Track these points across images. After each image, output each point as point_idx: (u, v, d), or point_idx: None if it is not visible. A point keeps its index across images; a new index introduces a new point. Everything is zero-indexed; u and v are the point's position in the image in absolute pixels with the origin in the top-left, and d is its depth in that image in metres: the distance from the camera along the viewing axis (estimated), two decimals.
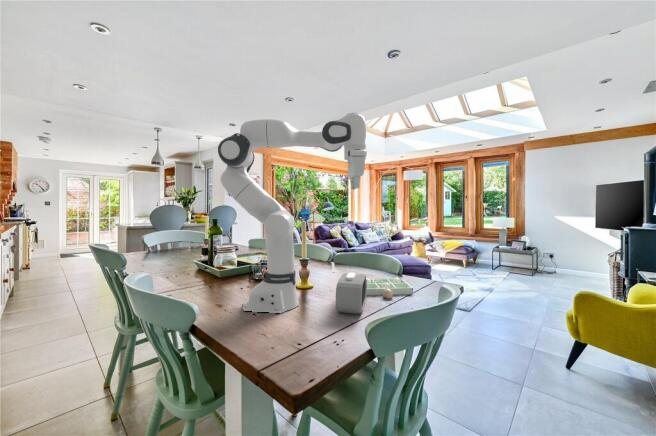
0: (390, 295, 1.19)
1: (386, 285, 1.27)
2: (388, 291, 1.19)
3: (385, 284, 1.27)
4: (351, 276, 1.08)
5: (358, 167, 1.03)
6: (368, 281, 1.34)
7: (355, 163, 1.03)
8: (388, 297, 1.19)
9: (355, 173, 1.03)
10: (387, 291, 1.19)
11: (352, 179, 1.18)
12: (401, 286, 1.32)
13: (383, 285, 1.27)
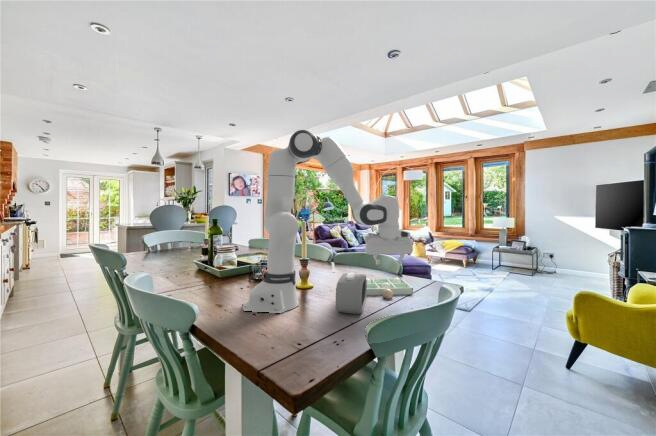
0: (390, 295, 1.19)
1: (386, 285, 1.27)
2: (388, 291, 1.19)
3: (385, 284, 1.27)
4: (351, 276, 1.08)
5: None
6: (368, 281, 1.34)
7: None
8: (388, 297, 1.19)
9: (411, 252, 1.19)
10: (387, 291, 1.19)
11: None
12: (401, 286, 1.32)
13: (383, 285, 1.27)
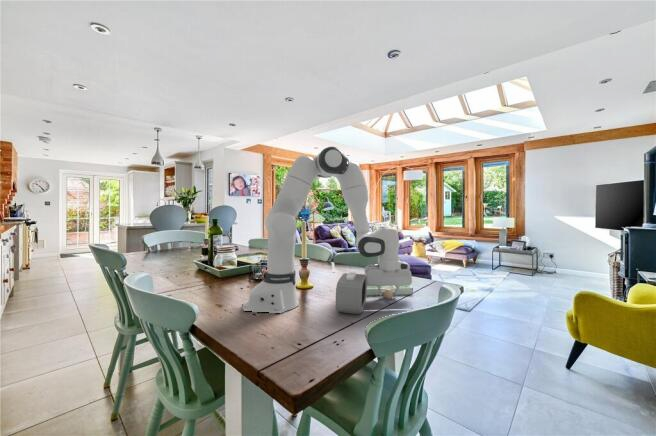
0: (390, 295, 1.19)
1: None
2: (388, 291, 1.19)
3: None
4: (351, 276, 1.08)
5: None
6: None
7: None
8: (388, 297, 1.19)
9: None
10: (387, 291, 1.19)
11: None
12: (401, 286, 1.32)
13: None
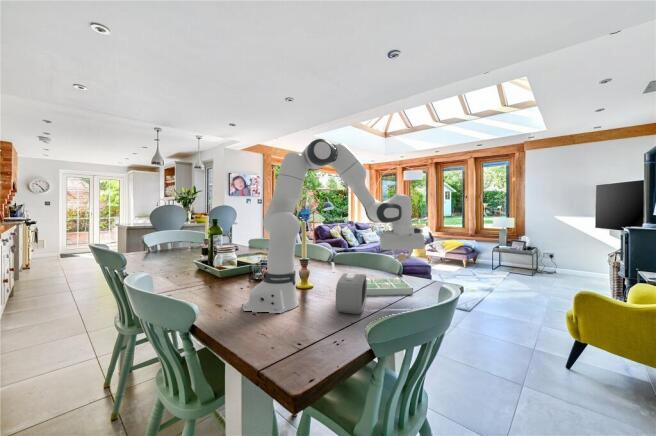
0: (404, 258, 1.26)
1: (386, 285, 1.27)
2: (402, 255, 1.26)
3: (385, 284, 1.27)
4: (351, 276, 1.08)
5: None
6: (368, 281, 1.34)
7: None
8: (402, 260, 1.26)
9: (423, 247, 1.27)
10: (401, 254, 1.26)
11: None
12: (401, 286, 1.32)
13: (383, 285, 1.27)
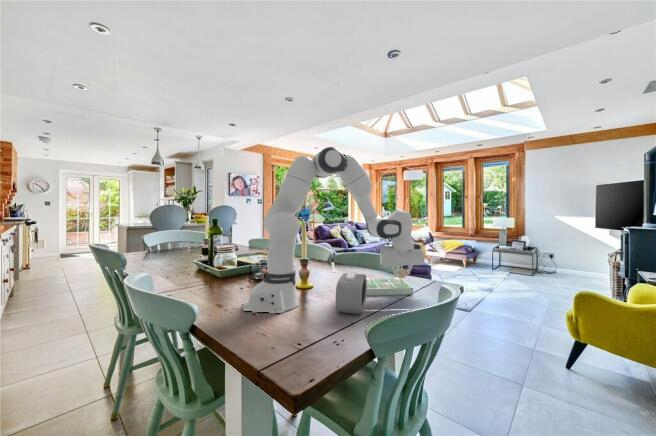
0: (404, 274, 1.26)
1: (386, 285, 1.27)
2: (402, 270, 1.27)
3: (385, 284, 1.27)
4: (351, 276, 1.08)
5: None
6: (368, 281, 1.34)
7: None
8: (402, 276, 1.27)
9: None
10: (401, 270, 1.27)
11: None
12: (401, 286, 1.32)
13: (383, 285, 1.27)
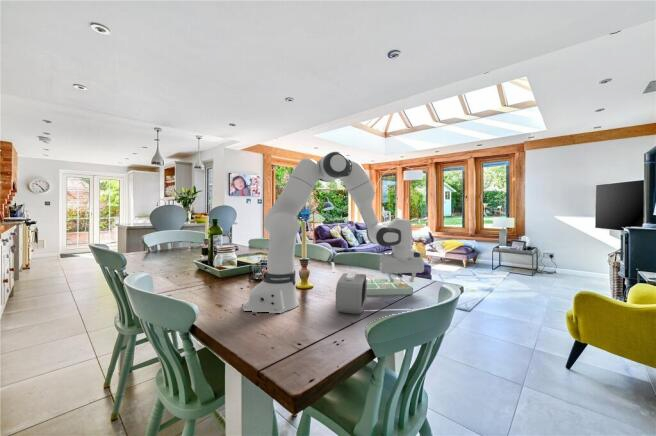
0: None
1: (386, 285, 1.27)
2: (403, 284, 1.27)
3: (385, 284, 1.27)
4: (351, 276, 1.08)
5: None
6: (368, 281, 1.34)
7: None
8: None
9: None
10: (402, 283, 1.27)
11: None
12: None
13: (383, 285, 1.27)
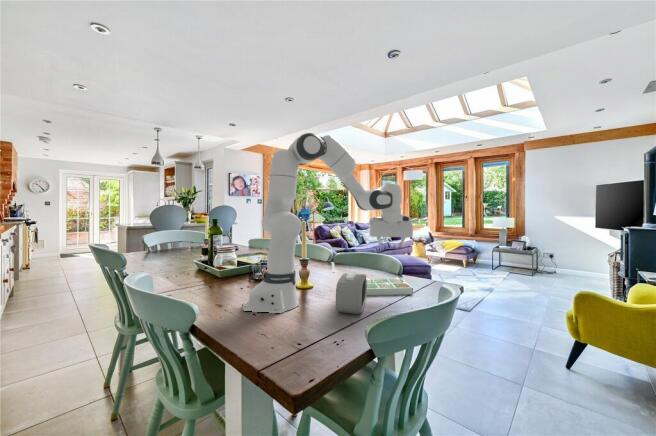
0: None
1: (386, 285, 1.27)
2: (405, 284, 1.27)
3: (385, 284, 1.27)
4: (351, 276, 1.08)
5: None
6: (368, 281, 1.34)
7: None
8: None
9: (411, 235, 1.30)
10: (405, 283, 1.28)
11: None
12: None
13: (383, 285, 1.27)
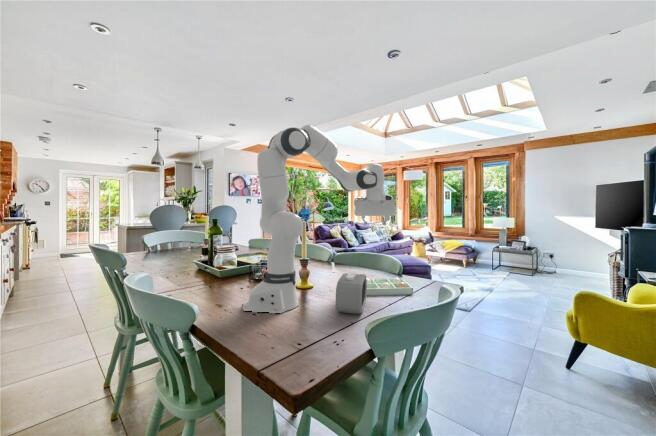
0: None
1: (386, 285, 1.27)
2: (403, 284, 1.27)
3: (385, 284, 1.27)
4: (351, 276, 1.08)
5: None
6: (368, 281, 1.34)
7: None
8: None
9: None
10: (402, 283, 1.27)
11: (364, 216, 1.36)
12: None
13: (383, 285, 1.27)
